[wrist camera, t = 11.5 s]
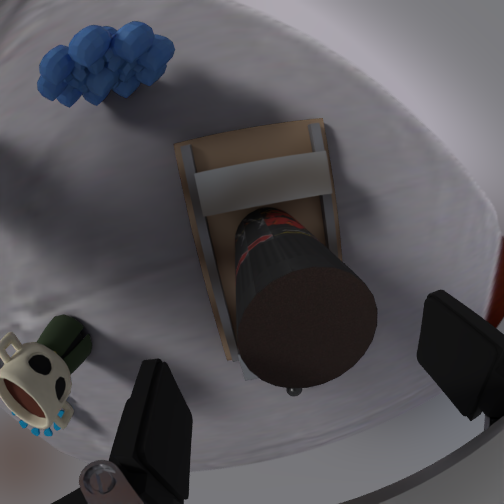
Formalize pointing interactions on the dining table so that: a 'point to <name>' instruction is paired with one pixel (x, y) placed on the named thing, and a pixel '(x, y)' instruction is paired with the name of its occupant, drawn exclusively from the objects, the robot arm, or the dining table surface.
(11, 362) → the character mug
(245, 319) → the deodorant
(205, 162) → the vise bed
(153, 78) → the grapes
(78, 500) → the robot arm
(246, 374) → the sliding jaw
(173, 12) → the dining table surface
